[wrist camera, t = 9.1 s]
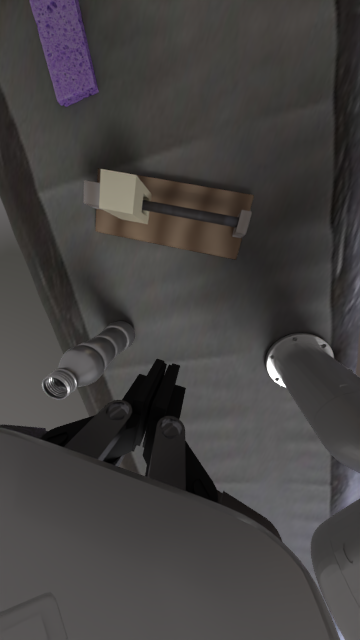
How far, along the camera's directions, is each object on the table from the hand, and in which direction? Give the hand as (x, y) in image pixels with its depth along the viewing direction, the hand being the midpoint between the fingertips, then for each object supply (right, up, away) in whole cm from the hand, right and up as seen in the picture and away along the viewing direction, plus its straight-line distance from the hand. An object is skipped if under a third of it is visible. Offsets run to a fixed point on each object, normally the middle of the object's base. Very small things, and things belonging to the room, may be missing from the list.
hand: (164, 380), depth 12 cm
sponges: (-16, +47, +16) cm, 52 cm away
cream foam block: (-7, +24, +19) cm, 31 cm away
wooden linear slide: (-1, +23, +21) cm, 31 cm away
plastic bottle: (-12, +1, +29) cm, 32 cm away
